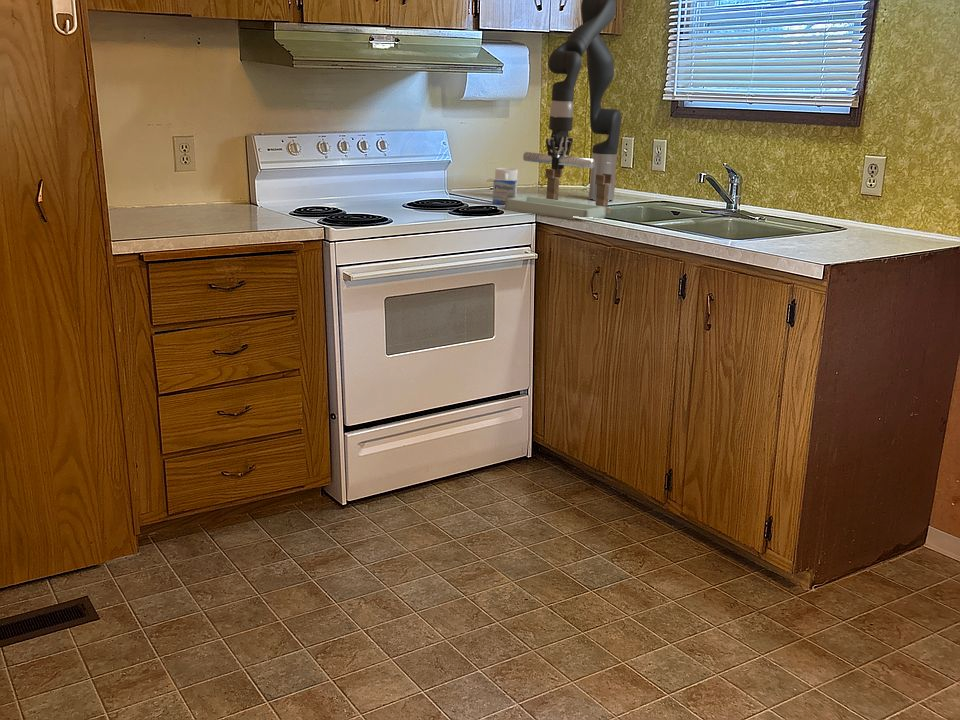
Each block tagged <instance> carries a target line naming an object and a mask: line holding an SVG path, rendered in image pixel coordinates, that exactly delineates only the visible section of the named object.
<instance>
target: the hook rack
mask: <svg viewBox="0 0 960 720" xmlns="http://www.w3.org/2000/svg"><path fill="white" fill-rule="evenodd" d="M544 177H545V179H547V182H546V195H545V196H546V199H553V200H559V190H560V189H559V187H560V178H563V169H557V170H554V169H552V168H546V169H545V176H544ZM607 183H609V184H611V183H612V174H603V175H596V180H595V184H597V194H596V200H595V205H596V206H604V207H606V215H607V214H608V215H609V214H611V211H612V210H611V208H610V207H609V206H608V204H609V201H608V195H609V184H607Z"/></svg>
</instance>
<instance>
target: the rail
mask: <svg viewBox="0 0 960 720" xmlns="http://www.w3.org/2000/svg"><path fill="white" fill-rule="evenodd" d="M522 158H523V161H524V162H529V163H530V162H531V163H540V164H550V165H552V157H551V156H548V153H540V152H539V153H538V152H529V151H525V152H524V153H523V157H522ZM559 165H564V166H567V167H575V168H584V169H591V168H593V167H594V165H595V161H594V159H592V158H586V157H579V156H578V157H577V156H569V155H566V156H560V155H559Z"/></svg>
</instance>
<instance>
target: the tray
mask: <svg viewBox="0 0 960 720" xmlns="http://www.w3.org/2000/svg"><path fill="white" fill-rule="evenodd" d="M504 210H508V211H514V212H521V213H528V214H533V215H541V216H546V217H547V216H548V217H555V218H562V219H568V220H570V219H569V217H573V216H579V217H593V218H600V219H605V218H606V217H607V216H606V215H607V214H606V207H604V206H596V204H588V203H587V204H586V203H581V202H574V201H566V200H559V199H558V200H553V199H546V198H544V197H537V196H531V195H523V196H516V197H515V198H508V199H505V205H504Z"/></svg>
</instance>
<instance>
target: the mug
mask: <svg viewBox="0 0 960 720" xmlns="http://www.w3.org/2000/svg"><path fill="white" fill-rule="evenodd" d="M494 171H495V174H494V175H495V176H494V179H504V180H517V181H518V177H519V176H518V174H519V172H518V171H519V170H518V169H517V168H512V167H496V168H495V170H494ZM517 189H518V182H517V183H516V195H517V194H518V192H517V191H518V190H517Z"/></svg>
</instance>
